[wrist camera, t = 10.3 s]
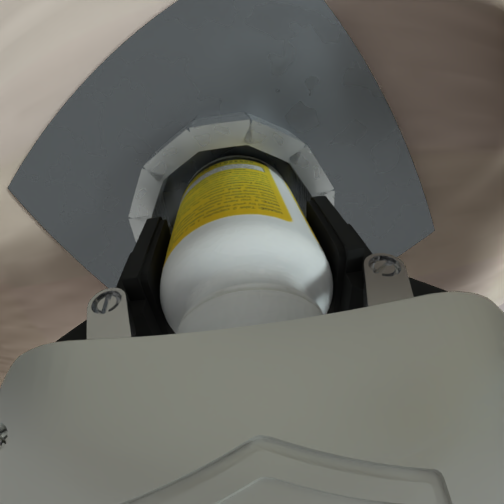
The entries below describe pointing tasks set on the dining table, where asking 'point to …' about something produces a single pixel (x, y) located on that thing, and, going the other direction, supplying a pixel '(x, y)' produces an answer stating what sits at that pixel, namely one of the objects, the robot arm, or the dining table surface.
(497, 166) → the dining table surface
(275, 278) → the supplement bottle
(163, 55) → the duct collar
